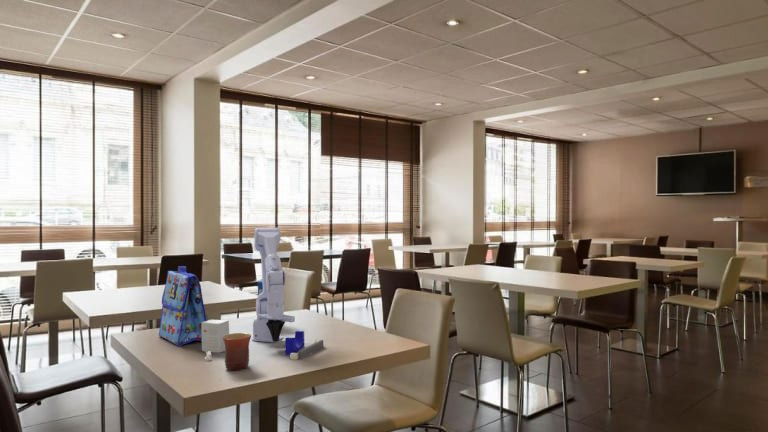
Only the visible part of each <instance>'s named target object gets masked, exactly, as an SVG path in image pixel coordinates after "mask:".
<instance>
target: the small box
mask: <svg viewBox="0 0 768 432" xmlns="http://www.w3.org/2000/svg"><path fill="white" fill-rule="evenodd" d="M201 327H202V341H201V352H205V353H206V352H207V353H208V351H210V352H211V353H218V354H221V353H223V352H225V344H224V341H223V336H225V335H228V334H230V321H229V320H226V319H225V320H224V319H207V321H205V322H202V323H201Z"/></svg>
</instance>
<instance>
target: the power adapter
mask: <svg viewBox="0 0 768 432" xmlns="http://www.w3.org/2000/svg"><path fill="white" fill-rule="evenodd" d="M205 353H206V356H205V357H204V361H205V362H208V361H212V360H213V357H212V352H210V351H208V352H205Z"/></svg>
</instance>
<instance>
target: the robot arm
mask: <svg viewBox="0 0 768 432" xmlns="http://www.w3.org/2000/svg"><path fill="white" fill-rule="evenodd" d="M281 236H282V235H281V229H280V227H255V229H254V230H253V240H254V249H255V250H256V251H257V252H258V253H259V254H260V260H261V262H260V263H261V279H262V284H263V292H262V293H261V294H260V295H258V294H257V296H256V299H255V302H256V303H255V313H256V317H255V318H254V319H253V322H252V323H253V324H252V332H253V333H252V335H253V336H252V338H251V341H253V342H264V343H275V342H279V341H280V340H281V339H284V336H280V335H281V334H282V333H281V332H282V330H283V327H284V325H285V324H286V323H287V322H288V323H294V322H295V318H296V317H295V315H290V314H289V315H287V314H284V311H285V310H284V307H285V306H284V304H285V303H284V300H285V299H284V286H285V285H286V273H285V269H284V268H283V267H282V263H281V258H280V256H279V255H277V250H278V249H279V247H280V242H281Z"/></svg>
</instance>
